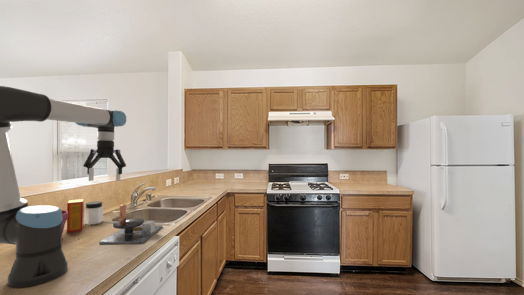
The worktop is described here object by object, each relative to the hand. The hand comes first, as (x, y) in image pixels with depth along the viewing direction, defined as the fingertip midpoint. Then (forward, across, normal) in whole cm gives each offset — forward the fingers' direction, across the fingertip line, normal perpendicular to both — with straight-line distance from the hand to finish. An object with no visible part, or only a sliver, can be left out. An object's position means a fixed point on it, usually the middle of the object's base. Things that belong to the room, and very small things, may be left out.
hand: (104, 180), depth 125 cm
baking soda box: (+28, +19, -9) cm, 35 cm away
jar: (+28, +17, -21) cm, 38 cm away
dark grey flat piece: (+28, -17, +3) cm, 32 cm away
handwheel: (+26, -16, +3) cm, 31 cm away
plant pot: (+28, +21, +7) cm, 36 cm away
